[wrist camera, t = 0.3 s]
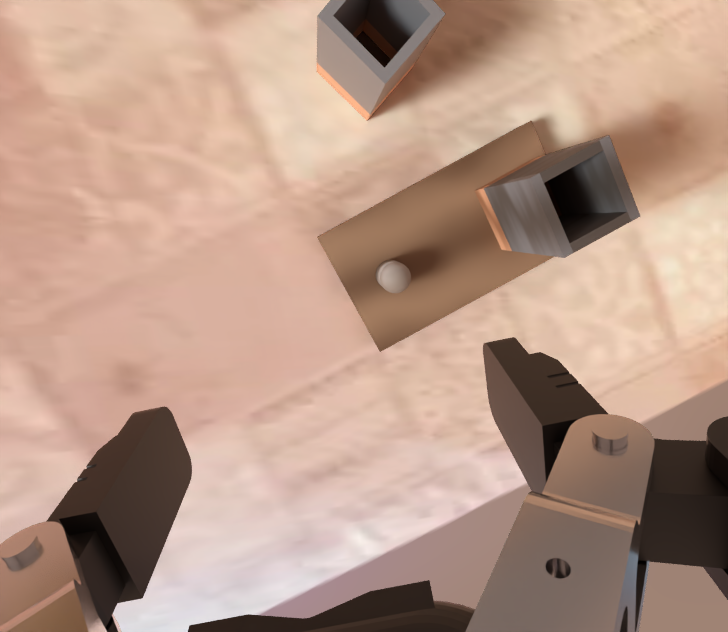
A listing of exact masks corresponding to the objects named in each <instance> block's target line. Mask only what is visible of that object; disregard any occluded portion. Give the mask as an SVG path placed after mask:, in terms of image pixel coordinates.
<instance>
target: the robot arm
mask: <svg viewBox="0 0 728 632" xmlns="http://www.w3.org/2000/svg"><path fill="white" fill-rule="evenodd" d="M483 355H484V364H485V373H486V381H487V390H488V398H489V404H490V408H491V412H492V415H493V418H494V420H495V422H496V424H497V426H498V428H499V430H500V432H501V434H502V436H503V438H504V439H505V441H506V443H507V445H508V447H509V449H510V451H511V453H512V454H513V456H514V458H515V460H516V462H517V464H518V466H519V468H520V470H521V471H522V473H523V475H524V477H525V479H526V481H527V483H528V485H529V486H530V488H531V490H532V491H531V492H530V493H528V495H527V496H526V498H525V500H524V502H523V504H522V506H521V508H520V511H519V513H518V515H517V517H516V520H515V522H514V524H513V526H512V529H511V531H510V533H509V535H508V538H507V540H506V542H505V544H504V547H503V549H502V551H501V553H500V556H499V558H498V560H497V562H496V564H495V567H494V569H493V571H492V573H491V576H490V578H489V580H488V582H487V585H486V587H485V589H484V591H483V594H482V596H481V598H480V600H479V602H478V605H477V607H476V609H472V608H469V607H466V606H463V605H460V604H454V603H450V602H443V601H433V596H432V591H431V586H430V581H429V580H428V581H423V582H418V583H412V584H407V585H402V586H396V587H391V588H386V589H381V590H375V591H370V592H368V593H366V594H363V595H361V596H359V597H356V598H354V599H352V600H350V601H347V602H345V603H343V604H341V605H338V606H336V607H334V608H332V609H329V610H327V611H325V612H323V613H320V614H318V615H316V616H313V617H311V618H305V619H301V618H287V617H273V616H261V615H243V616H238V617H232V618H227V619H222V620H216V621H211V622H206V623H200V624H195V625H190V626H189V629H188V632H639V628H640V621H641V615H642V608H643V602H644V594H645V589H646V582H647V576H648V569H649V562H660V563H672V564H682V565H691V566H701V567H704V569H705V570H706V571H707V573H708V574H709V575H710V577H711V578H712V579H713V581H714V582H715V583H716V585H717V586H718V588H719V589H720V590H721V591H722V593H723V594H724V595H725V597H726V598H727V600H728V417H723V418H720V419H718V420H716V421H714V422H713V423H712V424H711V425H710V426H709V427H708V431H707V440H706V441H683V440H682V441H680V440H661V439H654V438H653V436H652V434H651V433H650V431H649V430H648V429H646V428H645V427H644V426H643V425H641V424H640V423H638V422H636V421H634V420H631V419H629V418H626V417H622V416H618V415H610V414H608V413H607V412H606V411H605V410H604V409H603V408H602V407H601V406H600V405H599V403H598V402H597V401H596V400H595V399H594V398H593V397H592V396H591V395H590V394H589V393H588V392H587V391H586V390H585V388H584V387H583V386H582V385H581V384H578V381H577V380H576V379H575V378H574V377H573V376H572V375H571V374H569V371H568V370H567V369H566V368H565V367H564V366H563V365H562V364H561V363H560V362H559V361H558V360H556V359H554V358H552V357H550V356H548V355H546V354H543V353H541V352H539V353H534V354H528V353H527V351H526V350H525V349H524V348H523V347H522V345H521V344H520V343H519V342H518V341H517V339H516V338H514V337H513V338H508V339H503V340H498V341H493V342H488V343H484V345H483ZM86 467H87V469H84V470H83V472H82V473H81V475H80V476H79V477H78V479H77V482H75V483H74V484H73V485H72V487H71V488H70V490H69V491H68V492H67V494H66V495H65V496H64V498H63V499H62V501H61V502H60V503H59V505H58V506H57V507H56V509H55V510H54V512H53V513H52V514H51V516H50V517H49V518H48V520H47V521H46V522H43V523H39V524H35V525H32V526H30V527H28V528H25V529H23V530H21V531H20V532H18V533H16V534H14V535H13V536H11V537H10V538H8V539H7V540H5V541H4V542H3V543H1V544H0V632H121V629H120V626H119V624H118V622H117V620H116V619H115V617H114V615H113V612H114V609H115V607H116V605H117V603H120V602H125V601H131V600H136V599H141V598H143V596H144V593H145V591H146V588H147V586H148V583H149V581H150V579H151V576H152V574H153V571H154V569H155V566H156V564H157V561H158V559H159V557H160V554H161V552H162V549H163V547H164V544H165V542H166V539H167V537H168V535H169V532H170V530H171V527H172V525H173V522H174V520H175V517H176V515H177V513H178V510H179V508H180V505H181V503H182V500H183V498H184V495H185V493H186V490H187V488H188V486H189V483H190V480H191V475H192V465H191V459H190V456H189V453H188V451H187V448H186V446H185V443H184V441H183V439H182V436H181V434H180V431H179V429H178V427H177V424H176V422H175V419H174V417H173V415H172V413H171V411H170V410H169V409H168V408H167V407H159V408H154V409H149V410H144V411H139V412H135V413H133V414H132V415H131V417H130V418H129V420H128V421H127V422H126V424H125V425H124V427H123V428H122V429H121V431H120V432H119V434H118V435H117V436H115V437H114V438H113V439H111V440H110V441H109V442H108V443H107V444H105V445H104V446H103V447H102V448H101V449H99V450H98V451H97V453H96V454H95V455H94V457H93V458H92V459H91V461H90V462H89V464H88V465H87V466H86Z"/></svg>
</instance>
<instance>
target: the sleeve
mask: <svg viewBox="0 0 728 632" xmlns="http://www.w3.org/2000/svg"><path fill="white" fill-rule="evenodd" d="M444 16H445V13H444V12H443V10H442V9H441V8H440V7H439V6H438V5H437V4H436V3H435V2H434V1H433V0H330V1H329V3H328V4H327V5H326V6H325V7H324V9H323V10H322V11H321V12H320V13H319V15H318V16H317V72H318V73H319V74H320V75H321V76H322V77H323V78H324V79H325V80H326V81H327V82H328V83H329V84H330V85H331V86H332V87H333V88H334V89H335V90H336V91H337V92H338V93H339V94H340V95H341V96H342V97H343V98H344V99H345V100H347V101H348V102H349V103H350V104H351V105H352V106H353V107H354V108H355V109H356V110H357V111H358V112H359V113H360V114H361V115H362V116H363V117H364V118H365V119H366V120H368V119H369V118H370V117H371V116H372V114H373V113H374V112H375V111H376V110H377V109H378V107H379V106H380V105H381V104H382V103H383V102H384V100H385V99H386V98H387V97H388V96H389V95H390V93H391V92H392V91H393V90H394V89H395V88H396V86H397V85H398V84H399V83H400V82H401V81H402V79H403V78H404V77H405V76H406V75H407V74H408V73H409V71H410V70H411V69H412V67H413V66H414V64H415V63H416V61H417V59H418V58H419V56H420V55H421V53H422V51H423V50H424V48H425V46H426V45H427V43H428V42H429V40H430V38H431V37H432V35H433V33H434V32H435V30H436V29H437V27H438V25H439V24H440V22H441V20H442V19H443V17H444ZM362 31H364V32H365V33H366V34H367V35H368V36H369V37H370V38H371V40H372V41H373V42H374V43H375V44H376V45H377V46H378V47H379V48H380V49H381V50H382V51H383V52H384V53H385V54H386V55H387V56H388V57H389V58H390V59H391V61H390V62H389V63H388V64H387V66H386V67H385V68H384V67H383V66H382V65H381V64H380V63H379V62H378V61H377V60H376V59H375V58H374V57H373V56H372V55H371V54H370V53H369V52H368V51H367V50H366V49H365V48H364V47H363V45H362V44H361V43H360V42H359V41H358V40H357V39H356V38H357V36H358V35H359V34H360V33H361V32H362Z"/></svg>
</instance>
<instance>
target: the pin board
mask: <svg viewBox="0 0 728 632" xmlns="http://www.w3.org/2000/svg"><path fill="white" fill-rule="evenodd" d="M638 217H640V214H639V211H638V209H637V206H636V204H635V201H634V198H633V196H632V193H631V191H630V188H629V186H628V183H627V180H626V178H625V175H624V173H623V170H622V167H621V165H620V162H619V160H618V157H617V155H616V152H615V149H614V147H613V144H612V142H611V139H610V136H609V135H608V136H604V137H601V138H598V139H595V140H592V141H588V142H585V143H582V144H579V145H575V146H572V147H569V148H566V149H562V150H559V151H556V152H553V153H550V154H545V152H544V149H543V147H542V145H541V142H540V140H539V137H538V135H537V133H536V130H535V128H534V125H533V123H532V121H530V122H528V123H526V124H524V125H522V126H520V127H518V128H516V129H514V130H512V131H511V132H509V133H507V134H505V135H503V136H501V137H500V138H498V139H496V140H494V141H492V142H490V143H489V144H487V145H485V146H483V147H481V148H479V149H478V150H476V151H474V152H472V153H470V154H468V155H467V156H465V157H463V158H461V159H459V160H457V161H456V162H454V163H452V164H450V165H448V166H446V167H445V168H443V169H441V170H439V171H437V172H435V173H434V174H432V175H430V176H428V177H426V178H424V179H423V180H421V181H419V182H417V183H415V184H413V185H412V186H410V187H408V188H406V189H404V190H402V191H401V192H399V193H397V194H395V195H393V196H392V197H390V198H388V199H386V200H384V201H382V202H381V203H379V204H377V205H375V206H373V207H371V208H370V209H368V210H366V211H364V212H362V213H360V214H359V215H357V216H355V217H353V218H351V219H349V220H348V221H346V222H344V223H342V224H340V225H338V226H337V227H335V228H333V229H331V230H329V231H327V232H326V233H324V234H322V235H320V236H318V237H317V238H318V240H319V241H320V243H321V245H322V247H323V249H324V251H325V252H326V254H327V256H328V258H329V260H330V261H331V263H332V265H333V267H334V269H335V271H336V272H337V274H338V276H339V278H340V280H341V282H342V283H343V285H344V287H345V289H346V291H347V293H348V294H349V296H350V298H351V300H352V302H353V303H354V305H355V307H356V309H357V311H358V313H359V314H360V316H361V318H362V320H363V322H364V324H365V325H366V327H367V329H368V331H369V333H370V335H371V336H372V338H373V340H374V342H375V344H376V345H377V347H378V349H379V351H380V352H381V351H383V350H384V349H386V348H388V347H390V346H392V345H394V344H395V343H397V342H399V341H401V340H403V339H404V338H406V337H408V336H410V335H412V334H414V333H415V332H417V331H419V330H421V329H423V328H425V327H426V326H428V325H430V324H432V323H434V322H436V321H437V320H439V319H441V318H443V317H445V316H447V315H448V314H450V313H452V312H454V311H456V310H458V309H459V308H461V307H463V306H465V305H467V304H469V303H470V302H472V301H474V300H476V299H478V298H480V297H481V296H483V295H485V294H487V293H489V292H491V291H492V290H494V289H496V288H498V287H500V286H502V285H503V284H505V283H507V282H509V281H511V280H513V279H514V278H516V277H518V276H520V275H522V274H523V273H525V272H527V271H529V270H531V269H533V268H534V267H536V266H538V265H540V264H542V263H544V262H545V261H547V260H549V259H551V258H553V257H562V258H565V257H567V256H569V255H570V254H572V253H574V252H576V251H578V250H580V249H581V248H583V247H585V246H587V245H589V244H591V243H592V242H594V241H596V240H598V239H600V238H601V237H603V236H605V235H607V234H609V233H611V232H612V231H614V230H616V229H618V228H620V227H622V226H623V225H625V224H627V223H629V222H631V221H633V220H634V219H636V218H638Z"/></svg>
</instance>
